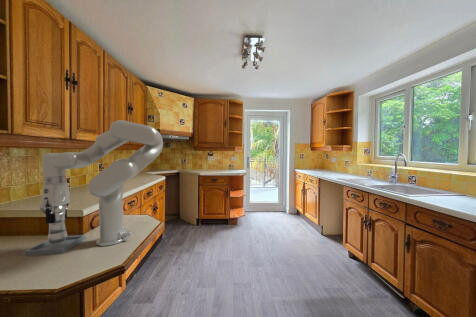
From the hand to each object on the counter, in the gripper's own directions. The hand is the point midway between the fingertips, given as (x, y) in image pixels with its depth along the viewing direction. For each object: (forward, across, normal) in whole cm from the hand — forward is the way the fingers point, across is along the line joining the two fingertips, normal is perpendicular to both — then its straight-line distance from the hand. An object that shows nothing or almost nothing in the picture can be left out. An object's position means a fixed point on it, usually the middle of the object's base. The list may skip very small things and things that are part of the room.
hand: (57, 220), depth 91 cm
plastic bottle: (+10, 0, 0) cm, 10 cm away
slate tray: (+12, 0, 0) cm, 12 cm away
